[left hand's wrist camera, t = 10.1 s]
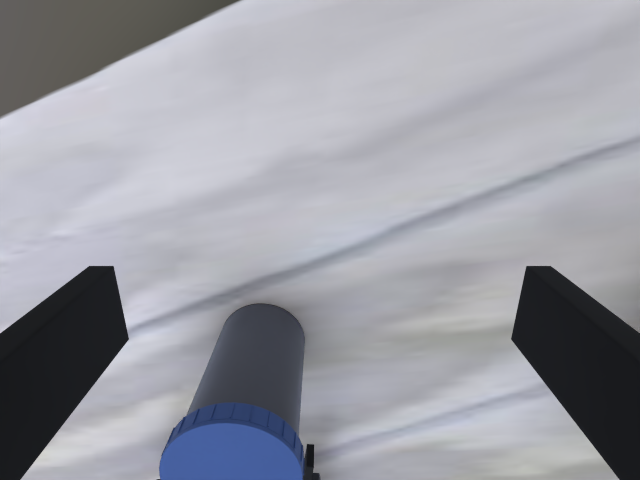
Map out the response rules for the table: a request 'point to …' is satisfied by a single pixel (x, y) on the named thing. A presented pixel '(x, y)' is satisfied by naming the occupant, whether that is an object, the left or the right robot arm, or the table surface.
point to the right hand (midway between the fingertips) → (245, 448)
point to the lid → (232, 446)
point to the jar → (257, 363)
